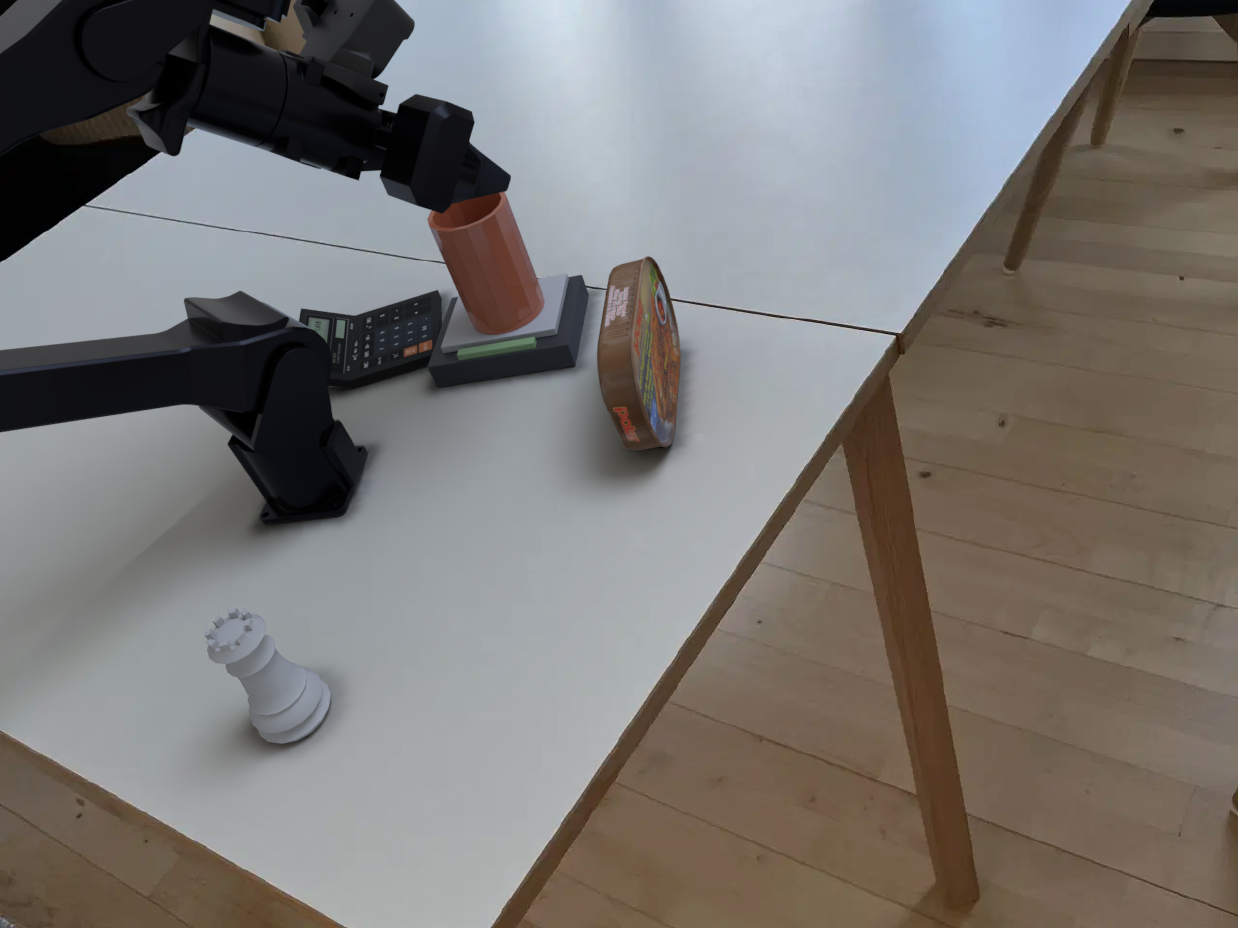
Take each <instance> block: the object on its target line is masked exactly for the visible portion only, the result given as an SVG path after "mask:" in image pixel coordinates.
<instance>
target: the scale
mask: <svg viewBox="0 0 1238 928" xmlns="http://www.w3.org/2000/svg"><path fill="white" fill-rule="evenodd" d="M537 279H538V282H539V285H540V287H541V290H542V293H543V296H544V299H545V303H544V307H543V309H542V311H541V312H540V314H539V315H538V316H537V317H536V318H535V319H534V320H532V321H531V322H530V323H528V324H527V325H525V326H523V327H521V328H519V329H517V330H514V331H511V332H508V333H503V334H495V335H491V334H484V333H481V332H479V331H477V330H476V329H475V328H474V327H473V325H472V323H471V321H470V319H469V317H468V314H467V312H466V310H465V307H464V305H463V303H462V301H461V298H460V296H459V295H458V296H454V297H451V299H450V301H449V304H448V307H447V310H446V313H445V316H444V319H443V320H442V327H441V330H440V333H439V336H438V338H437V341H436V344H435V347H434V350H433V353H432V356H431V358H430V361H429V364H428V366H427V370H428V372H429V374H430V376H431V378H432V380H433V382H434V385H435V386H436V388H442V387H443V388H444V387H449V386H455V385H461V384H468V383H475V382H480V381H481V382H482V381H487V380H494V379H500V378H507V377H513V376H520V375H525V374H531V373H532V374H533V373H538V372H544V371H545V372H546V371H551V370H558V369H563V368H570V367H575V366H576V364H577V360H578V359H577V358H578V354H579V350H580V343H581V338H582V334H583V327H584V323H585V317H586V312H587V308H588V307H587V306H588V301H589V296H590V294H589V291H588V289H587V286H586V282H585V279H584V277H583V274H577V275H573V276H568V273H561V274H555V275H549V276H544V277H539V278H538V277H537Z"/></svg>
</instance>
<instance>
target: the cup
mask: <svg viewBox="0 0 1238 928" xmlns="http://www.w3.org/2000/svg"><path fill="white" fill-rule="evenodd" d="M427 224H428V228H429V229H430V231H431V234H432V236H433V238H434V241H435V244H436V245H437V247H438V250H439V252H440V255H441V257H442V259H443V261H444V264H445V266H446V269H447V271H448V273H449V275H450V277H451V280H452V283H453V285H454V287H455V289H456V291H457V293H458V296H460V298H461V301H462V303H463V305H464V307H465V310H466V312H467V314H468V317H469V319H470V321H471V323H472V325H473V327H474V328H475V329H476V330H477V331H479V332H481V333H484V334H491V335H495V334H503V333H508V332H511V331H514V330H517V329H519V328H521V327H523V326H525V325H527V324H528V323H530V322H531V321H532V320H534V319H535V318H536V317H537V316H538V315H539V314H540V312H541V311H542V309H543V307H544V303H545V299H544V296H543V293H542V290H541V287H540V285H539V282H538V276H537V274H536V272H535V269H534V266H533V263H532V261H531V258H530V255H529V253H528V250H527V247H526V244H525V242H524V239H523V235H522V234H521V231H520V227H519V225H518V223H517V220H516V218H515V215H514V212H513V209H512V207H511V204H510V202H509V199H508V196H507V194H506V191H505V192H501V193H496V194H492V195H487V196H483V197H478V198H474V199H470V200H466V201H462V202H458V203H455V204H452V205H451V207H449V208H448V209H447V210H446V211H445V212H444V213H443V214H442V213H439V212H436V211H432V210H430V212H429V214H428V216H427Z"/></svg>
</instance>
